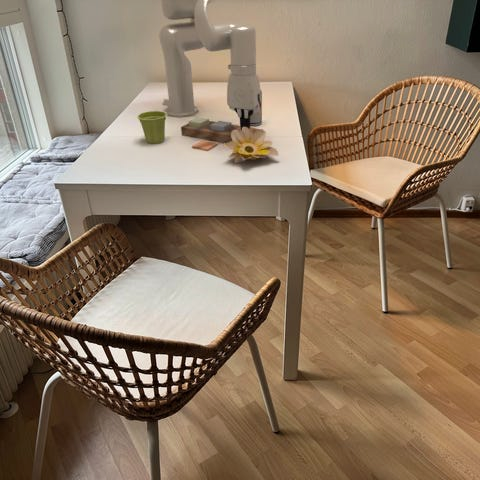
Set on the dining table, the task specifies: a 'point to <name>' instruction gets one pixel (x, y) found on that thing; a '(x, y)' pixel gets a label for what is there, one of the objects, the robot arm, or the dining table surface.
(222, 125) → the slate button
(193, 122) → the sage button
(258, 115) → the energy drink
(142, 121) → the plant pot
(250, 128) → the terracotta button
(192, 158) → the dining table surface
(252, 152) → the decorative flower
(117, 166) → the dining table surface
